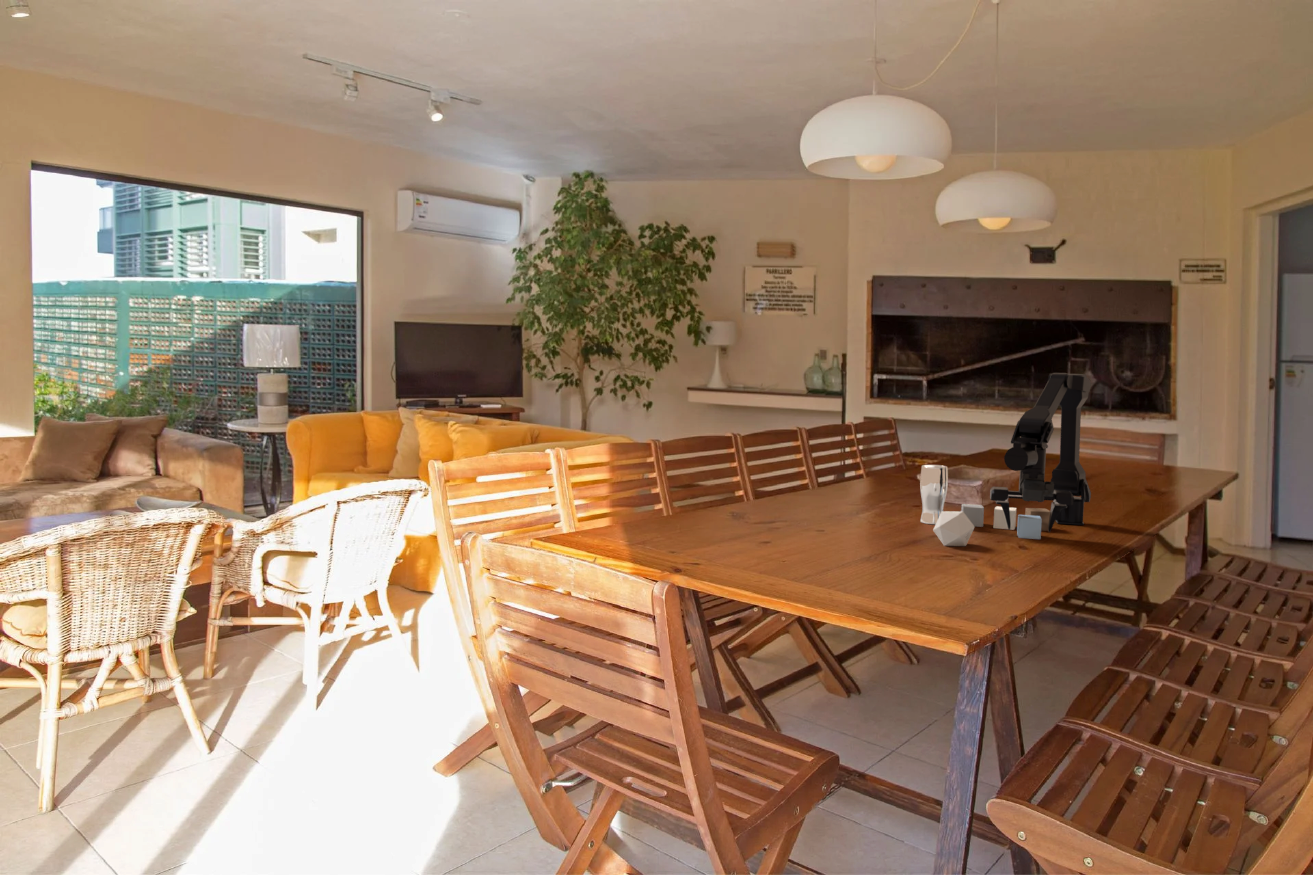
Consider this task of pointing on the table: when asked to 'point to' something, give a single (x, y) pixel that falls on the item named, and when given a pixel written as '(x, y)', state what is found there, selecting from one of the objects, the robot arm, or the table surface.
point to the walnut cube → (1042, 513)
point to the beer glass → (933, 492)
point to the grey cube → (974, 513)
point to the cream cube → (1001, 520)
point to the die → (953, 528)
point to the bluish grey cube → (1029, 526)
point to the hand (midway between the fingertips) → (1029, 530)
